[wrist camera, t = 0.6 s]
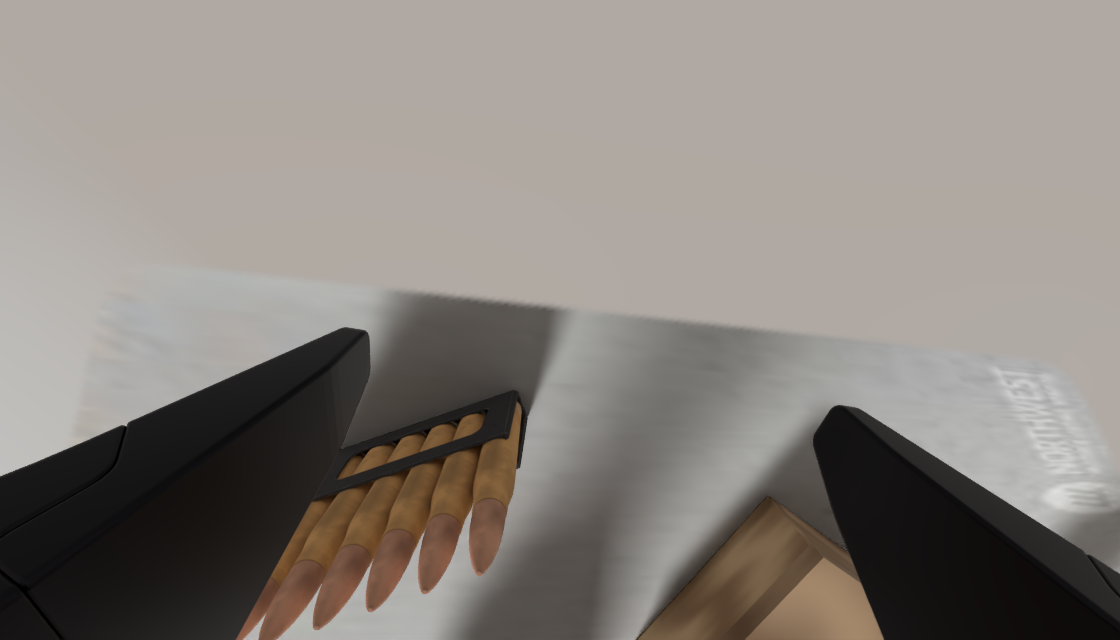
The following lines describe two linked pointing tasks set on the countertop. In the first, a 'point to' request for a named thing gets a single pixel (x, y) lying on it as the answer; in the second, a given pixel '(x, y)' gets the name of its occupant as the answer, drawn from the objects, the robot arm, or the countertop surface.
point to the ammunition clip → (399, 512)
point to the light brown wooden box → (740, 574)
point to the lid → (810, 605)
